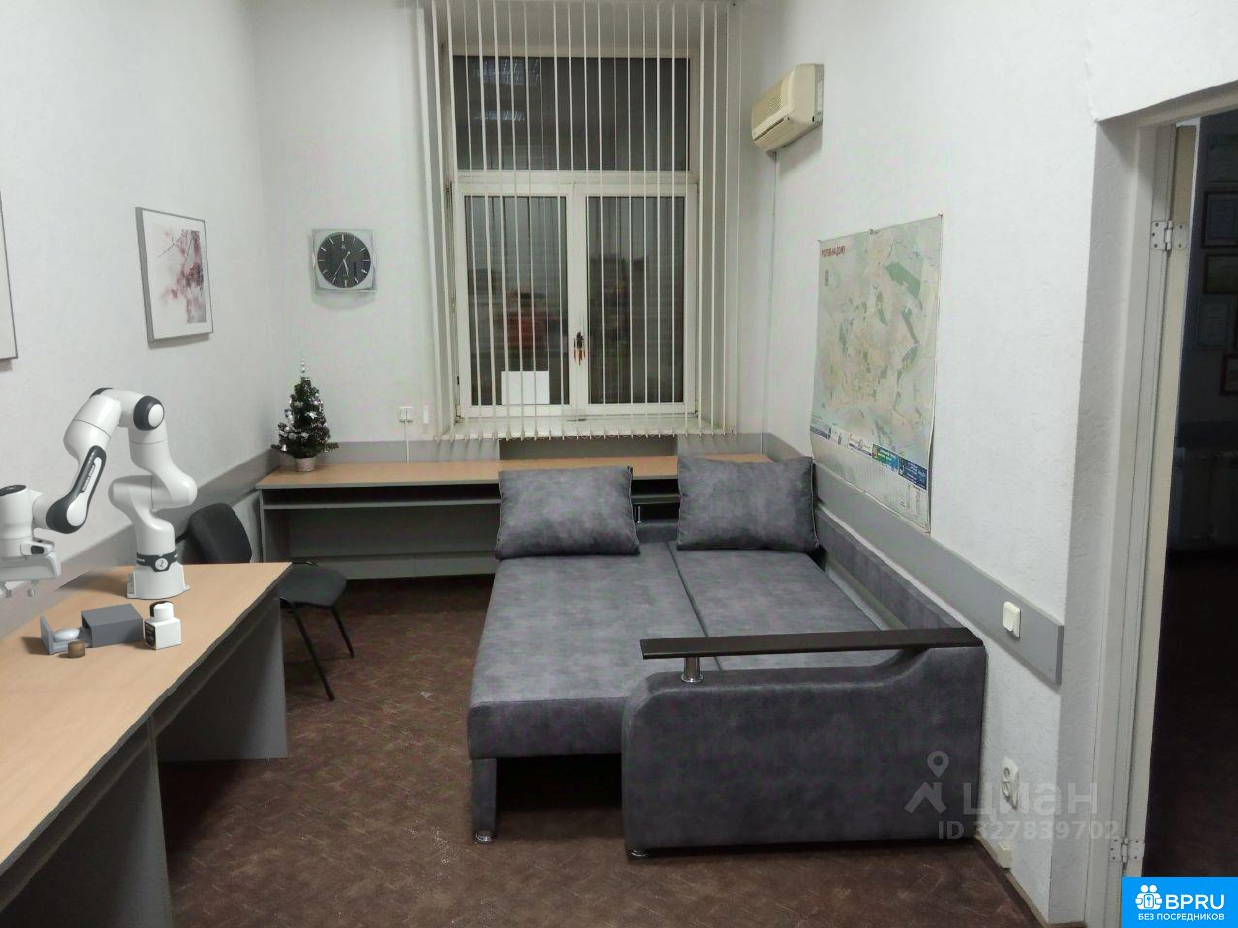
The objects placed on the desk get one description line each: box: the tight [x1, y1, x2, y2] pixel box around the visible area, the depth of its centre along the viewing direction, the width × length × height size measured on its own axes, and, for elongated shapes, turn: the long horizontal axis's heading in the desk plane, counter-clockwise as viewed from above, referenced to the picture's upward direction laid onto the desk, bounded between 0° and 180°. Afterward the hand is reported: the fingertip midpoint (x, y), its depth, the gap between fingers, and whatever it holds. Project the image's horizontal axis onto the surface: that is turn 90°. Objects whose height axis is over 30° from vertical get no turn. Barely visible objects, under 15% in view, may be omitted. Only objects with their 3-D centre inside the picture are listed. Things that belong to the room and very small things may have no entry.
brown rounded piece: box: [67, 641, 86, 659], centre depth 267 cm, size 4×4×4 cm
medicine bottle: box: [143, 600, 182, 651], centre depth 277 cm, size 7×7×12 cm
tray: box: [39, 614, 92, 656], centre depth 277 cm, size 16×13×6 cm
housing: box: [80, 603, 145, 649], centre depth 283 cm, size 16×13×6 cm
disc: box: [53, 627, 80, 643], centre depth 276 cm, size 6×6×2 cm
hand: (19, 596), depth 268 cm, fingers open, 4 cm apart
